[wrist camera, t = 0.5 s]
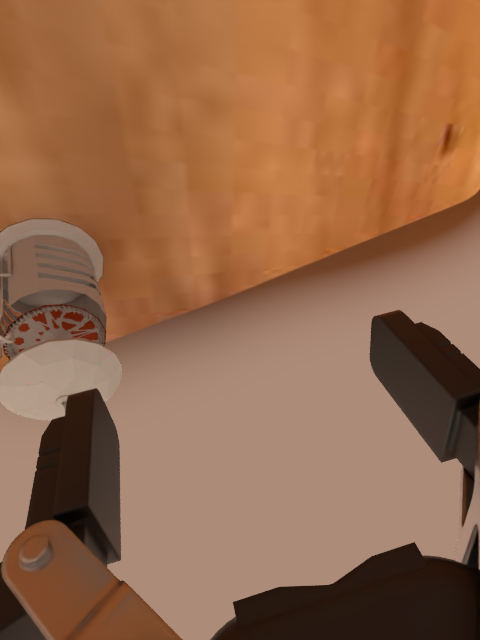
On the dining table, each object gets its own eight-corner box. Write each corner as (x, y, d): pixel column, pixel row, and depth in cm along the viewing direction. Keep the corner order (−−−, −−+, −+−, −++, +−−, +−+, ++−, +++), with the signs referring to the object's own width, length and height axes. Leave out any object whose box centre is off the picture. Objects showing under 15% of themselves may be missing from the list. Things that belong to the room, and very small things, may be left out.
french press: (65, 322, 44) (106, 586, 27) (-64, 273, 36) (-114, 608, 19) (125, 253, 41) (211, 501, 25) (0, 183, 33) (5, 484, 16)
